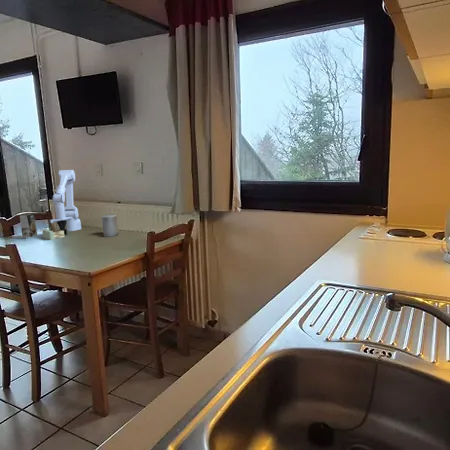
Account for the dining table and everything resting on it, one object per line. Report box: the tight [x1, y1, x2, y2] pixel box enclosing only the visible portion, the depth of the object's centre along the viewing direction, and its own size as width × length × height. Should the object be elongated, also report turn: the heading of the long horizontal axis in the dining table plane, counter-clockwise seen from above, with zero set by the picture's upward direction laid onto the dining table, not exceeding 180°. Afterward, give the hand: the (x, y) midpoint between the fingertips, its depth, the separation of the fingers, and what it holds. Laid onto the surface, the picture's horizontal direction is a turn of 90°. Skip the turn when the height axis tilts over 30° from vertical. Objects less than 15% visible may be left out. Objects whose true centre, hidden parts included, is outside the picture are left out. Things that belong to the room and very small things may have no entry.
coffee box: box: [19, 212, 38, 240], centre depth 280 cm, size 9×6×16 cm
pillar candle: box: [101, 213, 119, 238], centre depth 276 cm, size 10×10×15 cm
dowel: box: [50, 222, 57, 231], centre depth 283 cm, size 3×3×9 cm
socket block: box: [53, 229, 66, 239], centre depth 272 cm, size 8×8×4 cm
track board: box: [41, 228, 54, 241], centre depth 275 cm, size 21×14×6 cm, turn 136°
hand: (62, 231), depth 276 cm, fingers closed
